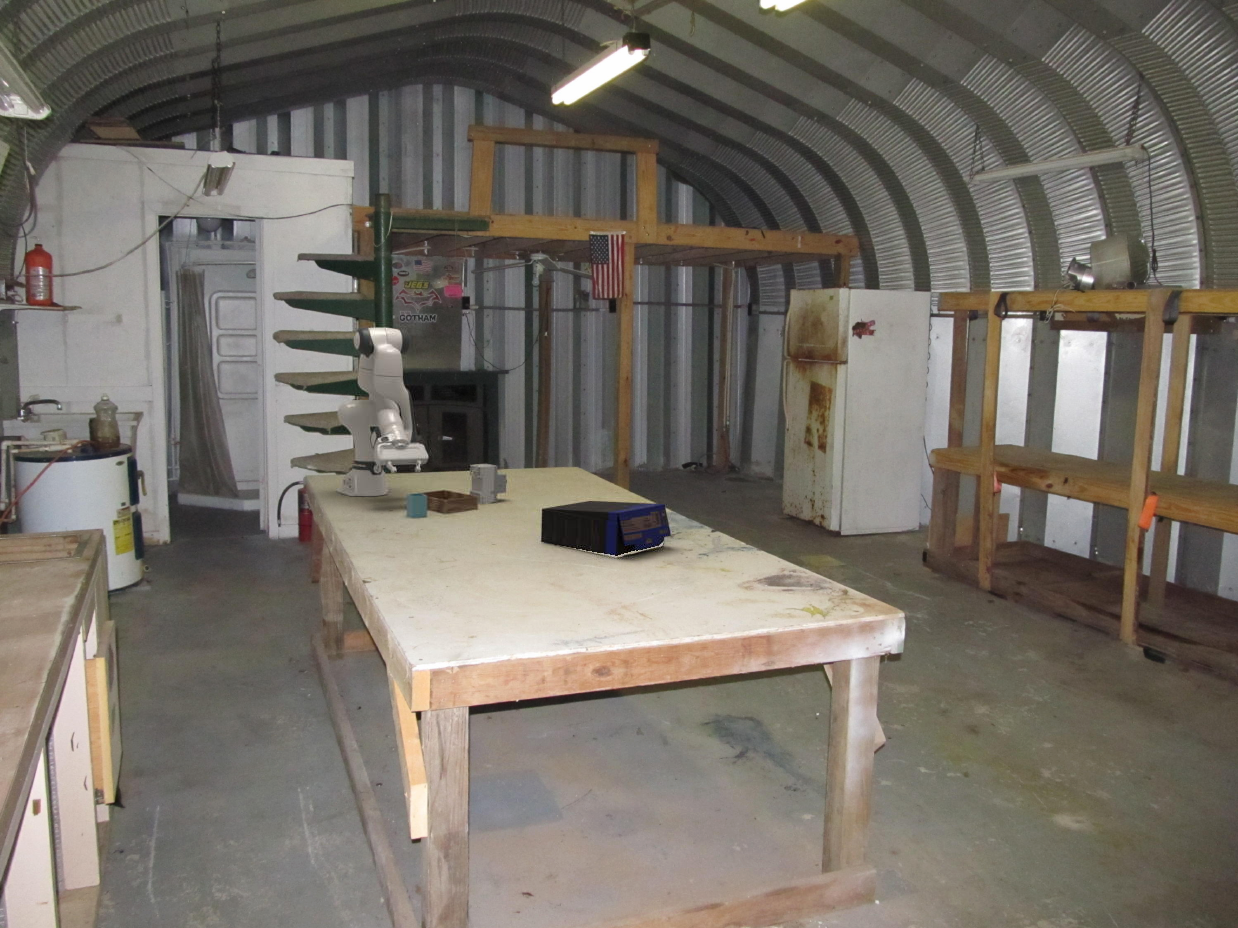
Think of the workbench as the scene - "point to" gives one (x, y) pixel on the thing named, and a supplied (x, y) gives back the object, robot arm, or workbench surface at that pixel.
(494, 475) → the circuit breaker
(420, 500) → the teal crate
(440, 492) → the walnut crate
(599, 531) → the black and blue box
